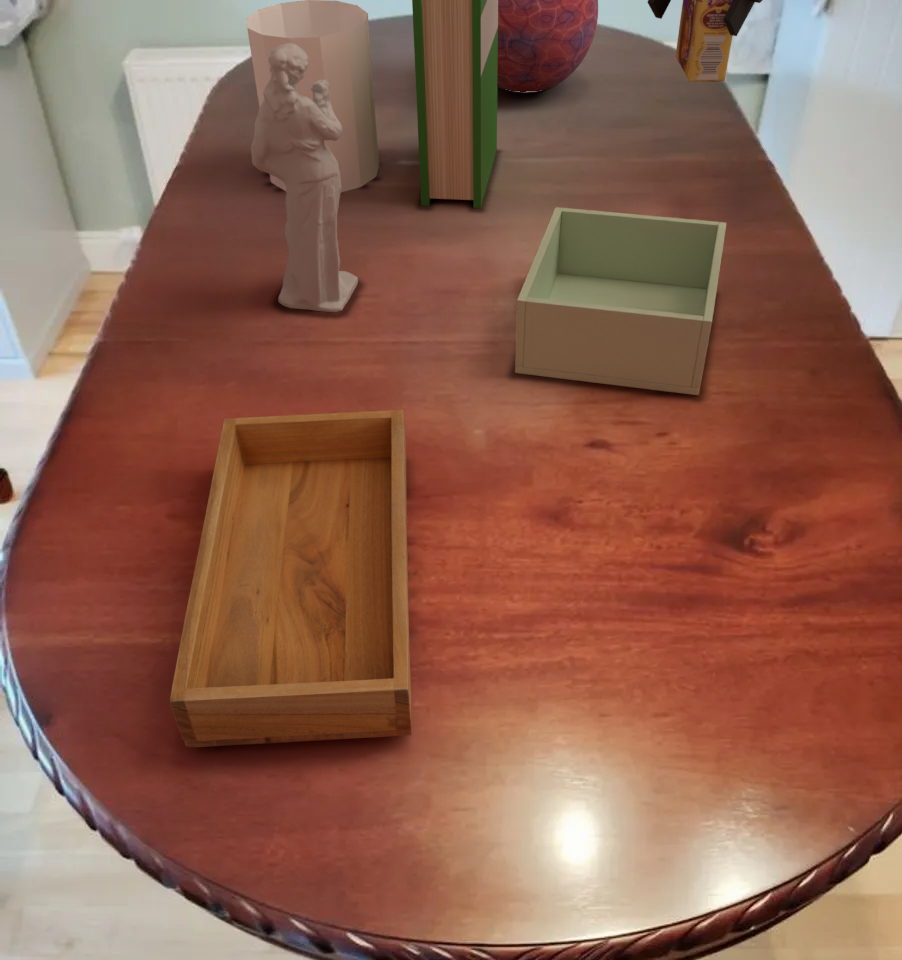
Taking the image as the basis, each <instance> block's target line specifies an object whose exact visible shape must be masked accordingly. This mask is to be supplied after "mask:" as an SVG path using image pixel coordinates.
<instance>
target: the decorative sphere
mask: <svg viewBox="0 0 902 960" xmlns="http://www.w3.org/2000/svg"><path fill="white" fill-rule="evenodd" d="M598 20H599V0H498V68H497V86H498V87H497V88H499V87H500V88H499V89H502V88H503V89H502V90H504V89H507V90H511V91H520V92H526V91H539V92H541V91H540V90H543V91H546V90H549V89H551V88H553V87H555V86H558V85H559V84H561V83H562V82H563V81H565V80H566V79H567V78H568V77H570V76H571V75H572V74H573V73H574V72H575V71H576V70H577V69H578V67H579V66H580V65H581V64H582V62H583V61H584V59H585V58H586V56H587V55H588V53H589V51H590V48H591V46H592V43H593V41H594V38H595V34H596V31H597V25H598ZM548 88H549V89H548ZM545 89H546V90H545ZM507 90H506V91H507ZM511 91H510V92H511ZM515 93H516V94H518V93H517V92H515ZM535 93H536V92H534V93H533V94H535Z"/></svg>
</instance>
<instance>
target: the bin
mask: <svg viewBox="0 0 902 960" xmlns="http://www.w3.org/2000/svg"><path fill="white" fill-rule="evenodd" d="M726 229H727V222H723V221H713V220H704V219H703V220H702V219H691V218H680V217H669V216H658V215H648V214H638V213H637V214H635V213H624V212H614V211H603V210H602V211H601V210H592V209H581V208H580V209H579V208H571V207H570V208H569V207H557V206H555V207H554V210H553V213H552V215H551V216H550V220H549V222H548V224H547V227H546V229H545V232H544V234H543V236H542V239H541V240H540V244H539V246H538V249H537V251H536V253H535V256H534V258H533V260H532V263H531V265H530V267H529V270H528V272H527V275H526V277H525V279H524V282H523V285H522V288H521V289H520V292H519V294H518V297H517V299H516V317H515V318H516V319H515V321H516V322H515V353H514V355H515V357H514V358H515V359H514V373H515V374H522V375H530V376H537V377H546V378H554V379H561V380H570V381H579V382H587V383H594V384H601V385H602V384H603V385H611V386H618V387H627V388H636V389H644V390H651V391H659V392H668V393H675V394H676V393H677V394H684V395H692V396H699V395H700V390H701V386H702V379H703V373H704V368H705V363H706V358H707V352H708V347H709V341H710V335H711V329H712V325H713V317H714V313H715V304H716V300H717V299H716V297H717V291H718V285H719V278H720V270H721V266H722V265H721V264H722V257H723V250H724V244H725V236H726Z"/></svg>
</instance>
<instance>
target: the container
mask: <svg viewBox="0 0 902 960" xmlns="http://www.w3.org/2000/svg"><path fill="white" fill-rule="evenodd" d="M245 22H246V29H247V34H248V35H247V36H248V43H249V49H250V56H251V61H252V68H253V75H254V81H255V89H256V94H257V101H258V108H259V107H260V106H261V104H262V102H263V100H264V95H263V92H264V89H265V87H266V85H267V84H268V82H269V81H270V79H271V75H272V73H271V72H270V63H269V57H270V56H271V51H272V50H273V49H275V48H276V47H278V46H280V45H282V44H285V43H292V44H296V45H298V46H299V47H300V48H301V49H303V51H305V52H306V54H307V56H308V61H307V62H308V67H307V69H306V70H305V72H304V75H305V77H304V78H303V79H301V80H300V81H299V82H298V83H297V84H296V90H297V93H298V94H300V95H303V96H306V97H308V98H310V99H311V100H313V92H312V90H311V87H313V83H315V82H317V80H326V81H327V82H328V84H329V85H330V86H329V89H328V90H329V94H330V99H331V106H332V109H333V112H334V114H335V116H336V117H337V119H338V121H339V122H340V123H341V126H342V134H341V136H340V138H339V139H338V140H336V141H332V140H325V141H324V143H325V144H326V145H327V146H328V148H329V149H330V151H331V152H332V154H333V155H334V157H335V158H336V160H337V161H338V164H339V171H340V178H341V187H342V189H341V192H340V194H342V193H344V192H348V191H351V190H355V189H358V188H361V187H363V186H365V185H367V184H368V183H370V182H371V181H372V180H374V179H375V178H377V176H378V171H379V167H380V160H379V159H380V158H379V148H378V147H379V145H378V134H377V120H376V106H375V105H376V104H375V92H374V78H373V66H372V64H373V63H372V51H371V36H370V26H369V25H370V24H369V23H370V22H369V13H368V12H367V11H365V9H363V8H362V7H360V6H359V5H358V4H353V3H348V2H343V1H339V0H295V1H288V2H280V3H276V4H274V5H269V6H266V7H264V8H260V9H257V10H256V11H255V12H253V13H252V14H250V15H249V16H248V17H246V18H245ZM269 180H270V183H271V184H273V185H275V186H277V187H278V188H280V189H282V190H283V191H285V192H286V185H285V183H284V182H283V181H281V180H280V179H278V178H277V177H275V176H273V175H271V174H269Z"/></svg>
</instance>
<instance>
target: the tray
mask: <svg viewBox="0 0 902 960" xmlns="http://www.w3.org/2000/svg"><path fill="white" fill-rule="evenodd" d="M404 413H405V412H404V410H403V409H398V410H397V409H396V410H376V411H375V410H373V411H353V412H352V411H351V412H333V413H312V414H291V415H273V416H272V415H271V416H251V417H233V418H224V420H223V424H222V428H221V432H220V438H219V443H218V449H217V453H216V459H215V464H214V469H213V474H212V479H211V482H210V483H211V484H210V489H209V495H208V500H207V505H206V511H205V515H204V521H203V526H202V529H201V530H202V531H201V534H200V540H199V545H198V551H197V556H196V561H195V566H194V571H193V576H192V582H191V586H190V591H189V596H188V601H187V606H186V611H185V616H184V622H183V625H182V626H183V627H182V632H181V637H180V643H179V648H178V654H177V658H176V664H175V669H174V675H173V680H172V685H171V690H170V696H169V697H170V698H169V703H170V708H171V711H172V714H173V716H174V719H175V723H176V726H177V728H178V731H179V734H180V737H181V739H182V742H184V745H185V746H186V748H206V747H207V748H208V747H222V746H240V745H241V746H242V745H259V744H260V745H261V744H279V743H295V742H296V743H297V742H298V743H299V742H312V741H313V742H314V741H315V742H316V741H331V740H347V739H363V738H364V739H365V738H368V739H369V738H384V737H402V736H411V735H412V734H413V719H412V691H411V690H412V689H411V688H412V687H411V654H410V653H411V652H410V651H411V650H410V615H409V614H410V611H409V610H410V607H409V564H408V563H409V561H408V560H409V559H408V556H409V555H408V525H407V524H408V514H407V513H408V511H407V510H408V509H407V508H408V507H407V441H406V440H407V439H406V428H405V416H404V415H405V414H404Z"/></svg>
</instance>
